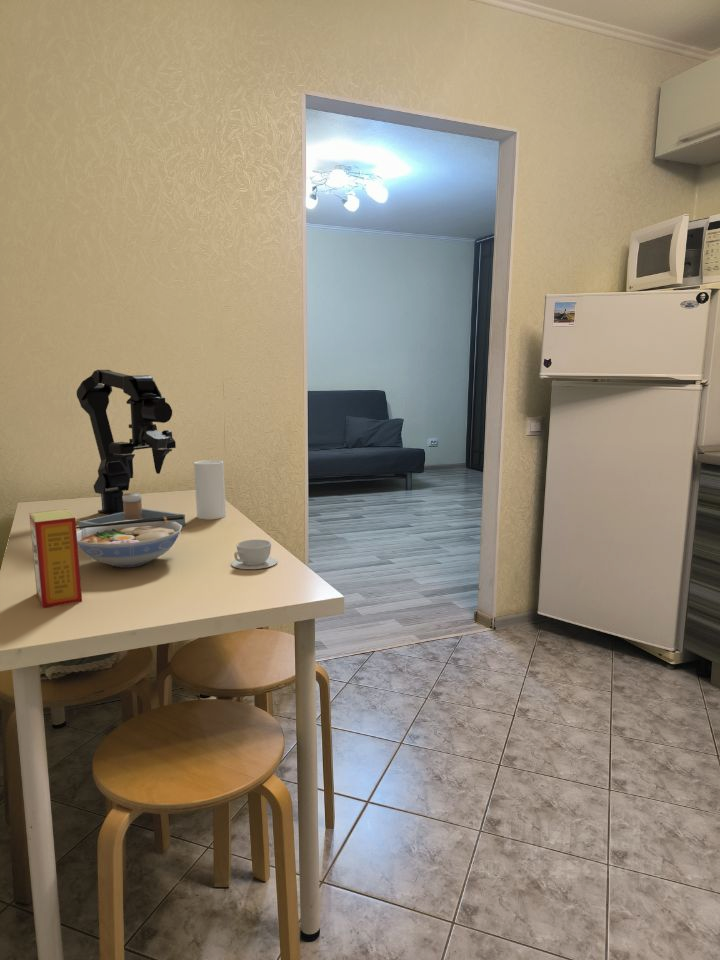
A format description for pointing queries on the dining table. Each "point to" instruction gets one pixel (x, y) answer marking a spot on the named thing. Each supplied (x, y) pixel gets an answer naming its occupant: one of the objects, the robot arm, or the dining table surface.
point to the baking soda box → (55, 557)
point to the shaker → (132, 506)
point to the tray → (120, 517)
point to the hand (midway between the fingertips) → (144, 475)
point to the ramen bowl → (129, 540)
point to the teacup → (253, 555)
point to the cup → (210, 489)
